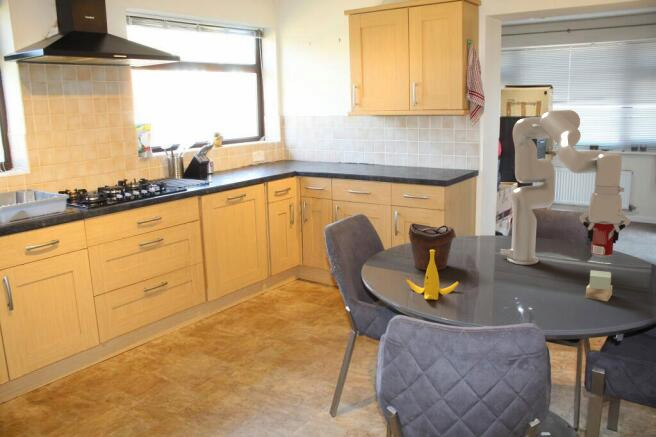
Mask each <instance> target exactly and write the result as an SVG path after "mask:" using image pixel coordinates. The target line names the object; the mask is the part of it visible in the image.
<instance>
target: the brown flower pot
mask: <svg viewBox="0 0 656 437" xmlns="http://www.w3.org/2000/svg"><path fill="white" fill-rule="evenodd" d="M408 228H409V230H408V239H409V241H410V248H411V252H412V258H413V262H414V266H415V268H417V269H419V270H421V271H427V268H428V265H429V262H430V250H435V253H434V261H435V265H436V268H437V271H441V270H445V269H446V268H447V267H448V266H447V265H448V262H449V257H450V252H451V248H452V244H453V239H455V238H456V237H457V235H456V232H455V230H454V228H453V227H451V226H450V227H448V226H447V225H442V226H439V227H437V226H430V225H425V224H418V223H413V222H412V223H410V225H409V227H408Z"/></svg>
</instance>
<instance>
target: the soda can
mask: <svg viewBox="0 0 656 437" xmlns="http://www.w3.org/2000/svg"><path fill="white" fill-rule="evenodd" d="M592 229H593V235H592V241H591V248H590V254H592V255H593V256H594V257H595V256H596V257H599V258H608V257H610V256H613V253H614V243H613V241H614V231H615V227H614V225H613V224H611V223H600V222H598V223H595V224H594V226H593V227H592Z"/></svg>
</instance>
